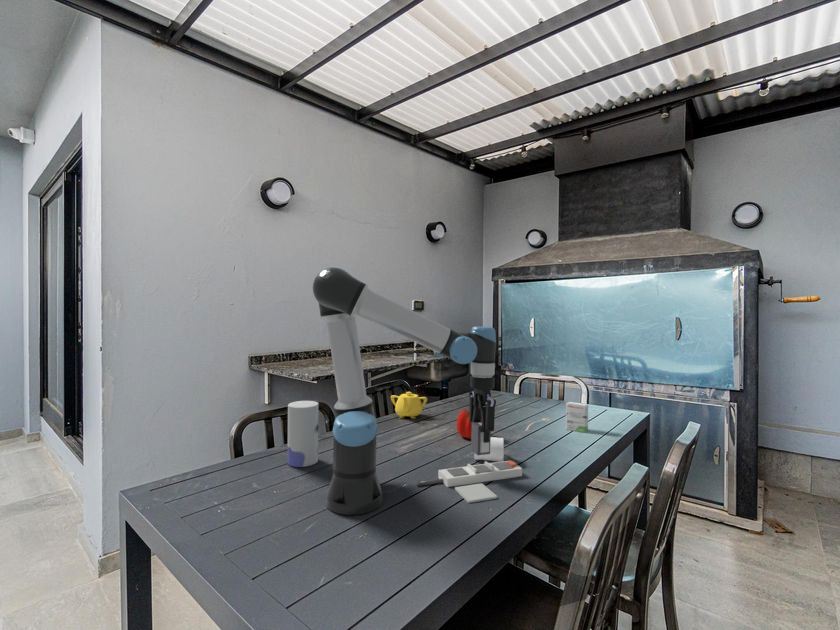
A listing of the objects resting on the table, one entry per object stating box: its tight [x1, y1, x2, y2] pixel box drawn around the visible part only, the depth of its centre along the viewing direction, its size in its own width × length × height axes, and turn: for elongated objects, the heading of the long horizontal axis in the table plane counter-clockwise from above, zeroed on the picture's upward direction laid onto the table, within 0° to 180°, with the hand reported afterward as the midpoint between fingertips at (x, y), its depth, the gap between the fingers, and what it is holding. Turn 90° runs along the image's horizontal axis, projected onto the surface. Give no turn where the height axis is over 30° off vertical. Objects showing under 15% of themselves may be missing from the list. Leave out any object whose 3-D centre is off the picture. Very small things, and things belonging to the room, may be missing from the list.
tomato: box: [456, 409, 482, 440], centre depth 172 cm, size 14×13×10 cm
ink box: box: [565, 401, 589, 433], centre depth 184 cm, size 9×5×12 cm, turn 56°
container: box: [287, 400, 319, 468], centre depth 142 cm, size 10×10×20 cm
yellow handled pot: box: [390, 391, 428, 420], centre depth 202 cm, size 14×14×12 cm
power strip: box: [416, 460, 523, 488], centre depth 131 cm, size 34×7×4 cm, turn 110°
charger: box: [470, 422, 492, 455], centre depth 132 cm, size 4×4×9 cm
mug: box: [473, 436, 505, 462], centre depth 149 cm, size 12×10×8 cm
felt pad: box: [454, 482, 498, 504], centre depth 120 cm, size 9×9×1 cm
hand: (480, 449), depth 132 cm, fingers closed on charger, 4 cm apart
